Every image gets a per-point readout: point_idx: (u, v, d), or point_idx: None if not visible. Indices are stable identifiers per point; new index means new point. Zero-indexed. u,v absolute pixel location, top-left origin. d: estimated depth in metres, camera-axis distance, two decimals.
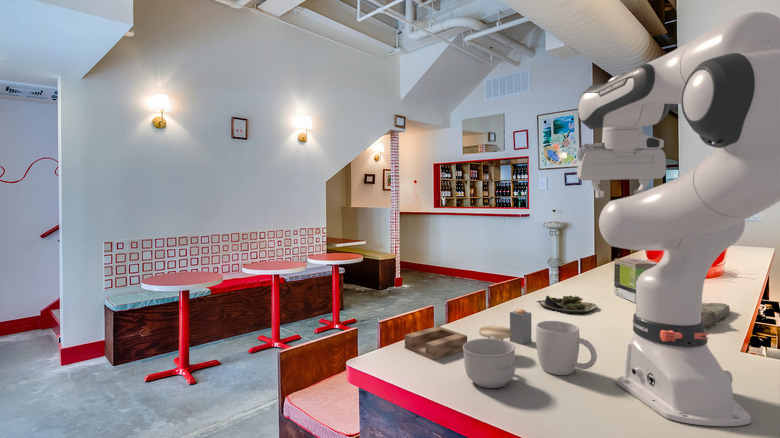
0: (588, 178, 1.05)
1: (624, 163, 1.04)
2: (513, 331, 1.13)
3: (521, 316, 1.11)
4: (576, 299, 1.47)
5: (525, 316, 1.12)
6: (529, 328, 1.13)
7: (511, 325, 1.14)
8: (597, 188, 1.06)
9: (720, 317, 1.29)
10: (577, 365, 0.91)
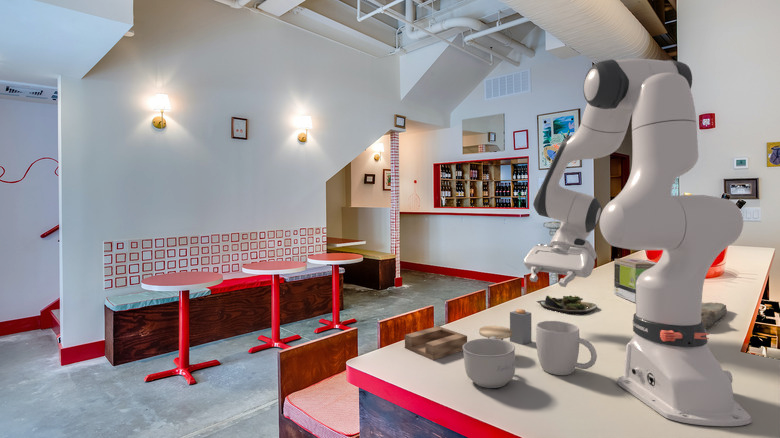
0: (527, 262, 1.28)
1: (557, 256, 1.23)
2: (513, 331, 1.13)
3: (521, 316, 1.11)
4: (576, 299, 1.47)
5: (525, 316, 1.12)
6: (529, 328, 1.13)
7: (511, 325, 1.14)
8: (532, 271, 1.26)
9: (719, 317, 1.29)
10: (577, 365, 0.91)
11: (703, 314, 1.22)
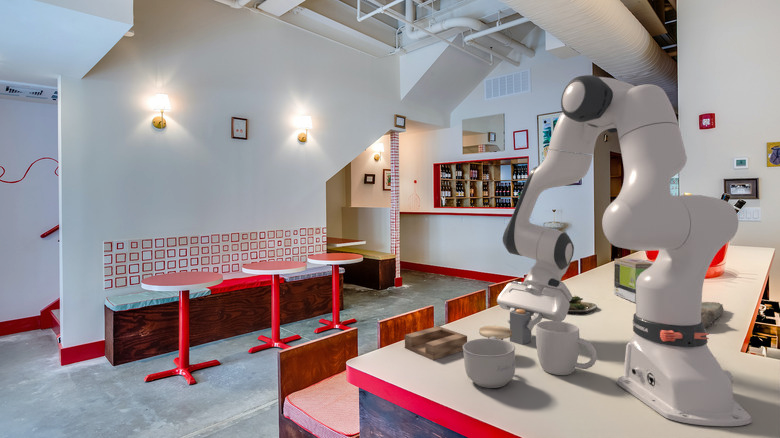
0: (500, 301, 1.21)
1: (531, 297, 1.16)
2: (513, 331, 1.13)
3: (521, 316, 1.11)
4: (576, 299, 1.47)
5: (525, 316, 1.12)
6: None
7: (511, 325, 1.14)
8: None
9: (717, 316, 1.30)
10: (577, 365, 0.91)
11: (702, 314, 1.22)
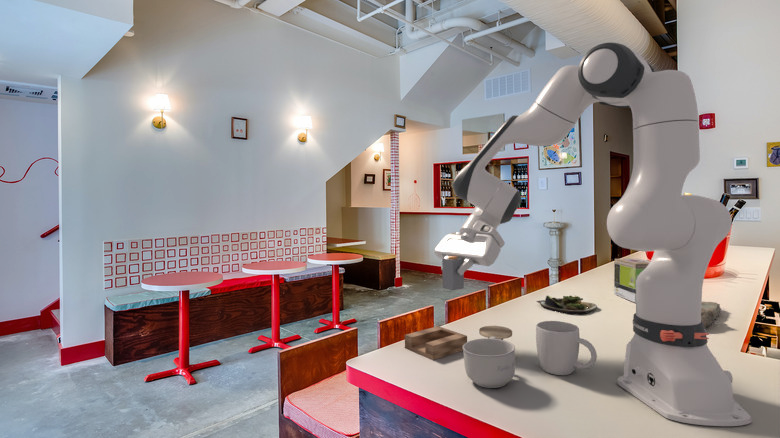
0: (436, 251, 1.20)
1: (465, 244, 1.15)
2: (445, 277, 1.12)
3: (452, 261, 1.10)
4: (576, 299, 1.47)
5: (456, 261, 1.11)
6: None
7: (443, 271, 1.13)
8: None
9: (715, 316, 1.30)
10: (577, 365, 0.91)
11: (702, 314, 1.23)
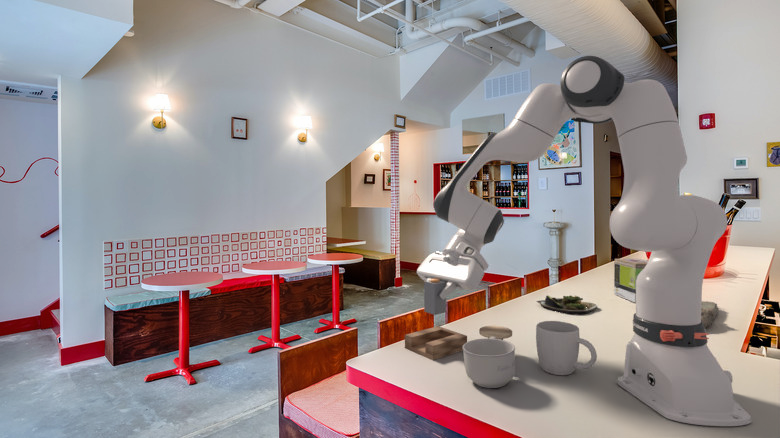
0: (419, 272, 1.16)
1: (447, 266, 1.11)
2: (427, 301, 1.09)
3: (433, 285, 1.06)
4: (576, 299, 1.47)
5: (438, 285, 1.07)
6: None
7: (425, 295, 1.09)
8: None
9: (714, 316, 1.30)
10: (577, 365, 0.91)
11: (703, 314, 1.23)
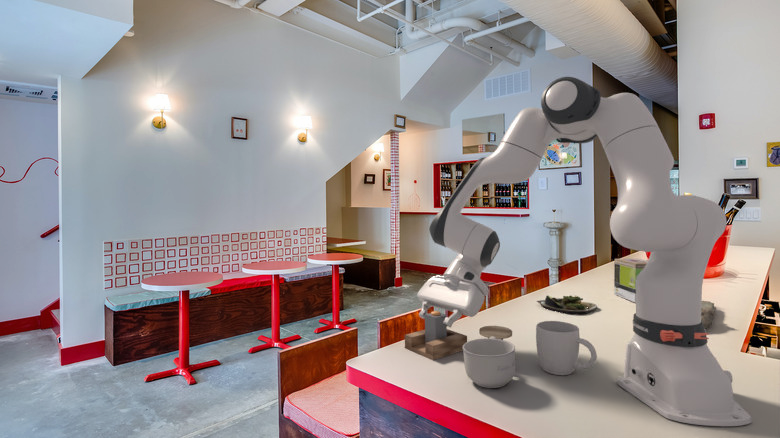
0: (419, 296, 1.17)
1: (448, 291, 1.11)
2: (428, 334, 1.09)
3: (434, 318, 1.07)
4: (576, 299, 1.47)
5: (439, 318, 1.07)
6: (444, 330, 1.08)
7: (426, 328, 1.09)
8: (422, 307, 1.14)
9: (713, 315, 1.31)
10: (577, 365, 0.91)
11: (703, 313, 1.23)
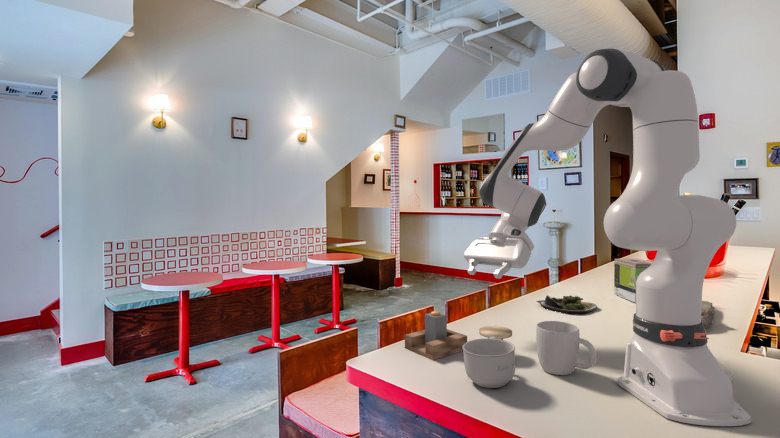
0: (466, 255, 1.24)
1: (495, 248, 1.19)
2: (428, 334, 1.09)
3: (434, 318, 1.07)
4: (576, 299, 1.47)
5: (439, 318, 1.07)
6: (444, 330, 1.08)
7: (426, 328, 1.09)
8: (470, 264, 1.22)
9: None
10: (577, 365, 0.91)
11: (703, 314, 1.23)
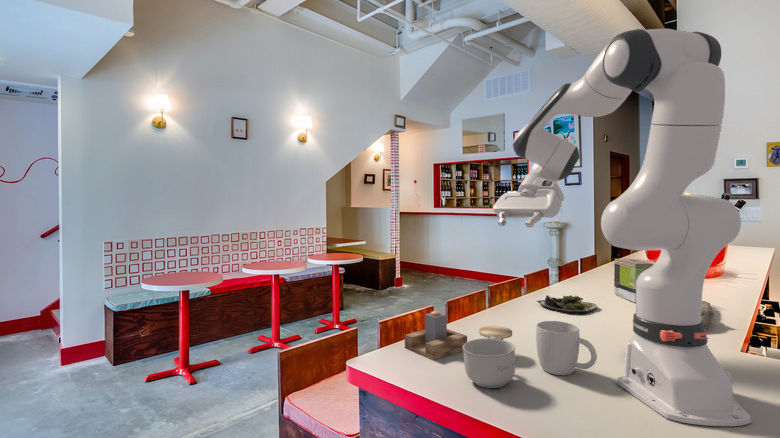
0: (496, 208, 1.27)
1: (525, 199, 1.21)
2: (428, 334, 1.09)
3: (434, 318, 1.07)
4: (576, 299, 1.47)
5: (439, 318, 1.07)
6: (444, 330, 1.08)
7: (426, 328, 1.09)
8: (500, 216, 1.24)
9: None
10: (577, 365, 0.91)
11: (703, 314, 1.23)
